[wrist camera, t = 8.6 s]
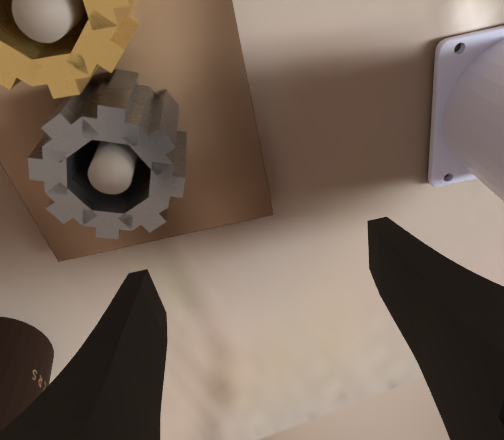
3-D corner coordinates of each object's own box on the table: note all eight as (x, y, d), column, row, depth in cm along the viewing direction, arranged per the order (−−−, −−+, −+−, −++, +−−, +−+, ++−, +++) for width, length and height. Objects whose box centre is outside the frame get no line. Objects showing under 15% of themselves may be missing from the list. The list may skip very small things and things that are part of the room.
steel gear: (129, 42, 18) (112, 72, 14) (210, 144, 21) (213, 191, 17) (32, 118, 19) (-7, 164, 15) (121, 204, 22) (106, 260, 18)
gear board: (182, -250, 14) (176, -333, 10) (270, 203, 24) (287, 265, 20) (-171, -167, 14) (-339, -211, 10) (64, 248, 25) (34, 320, 20)
